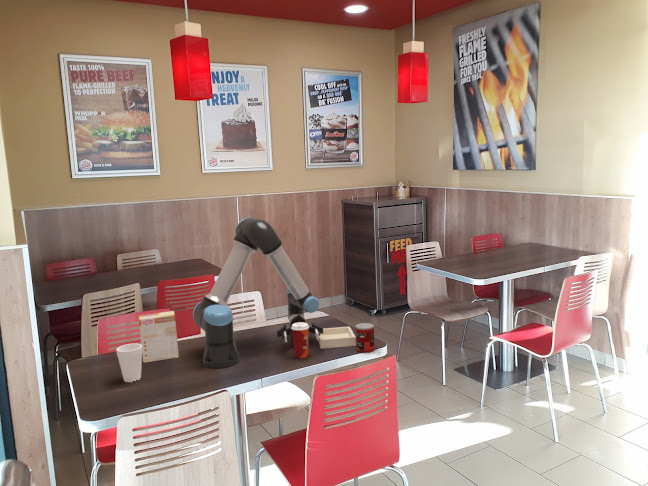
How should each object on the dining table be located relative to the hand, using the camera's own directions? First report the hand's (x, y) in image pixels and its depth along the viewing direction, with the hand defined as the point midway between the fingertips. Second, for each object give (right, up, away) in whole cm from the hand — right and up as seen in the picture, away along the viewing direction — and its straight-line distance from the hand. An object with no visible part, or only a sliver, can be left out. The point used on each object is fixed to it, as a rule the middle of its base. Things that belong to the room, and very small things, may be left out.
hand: (301, 338), depth 224 cm
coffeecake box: (-62, -10, +7) cm, 63 cm away
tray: (+15, -5, +19) cm, 25 cm away
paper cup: (0, -8, +3) cm, 9 cm away
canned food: (+27, -7, +7) cm, 29 cm away
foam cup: (-66, -14, -15) cm, 69 cm away
